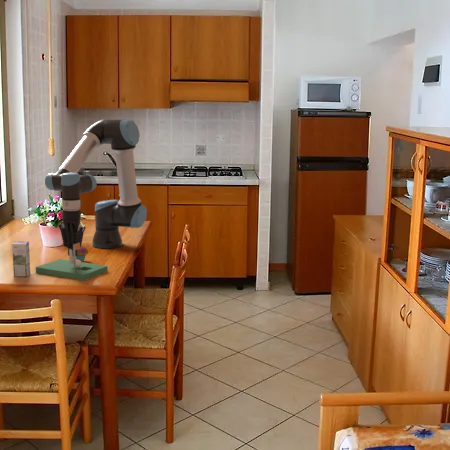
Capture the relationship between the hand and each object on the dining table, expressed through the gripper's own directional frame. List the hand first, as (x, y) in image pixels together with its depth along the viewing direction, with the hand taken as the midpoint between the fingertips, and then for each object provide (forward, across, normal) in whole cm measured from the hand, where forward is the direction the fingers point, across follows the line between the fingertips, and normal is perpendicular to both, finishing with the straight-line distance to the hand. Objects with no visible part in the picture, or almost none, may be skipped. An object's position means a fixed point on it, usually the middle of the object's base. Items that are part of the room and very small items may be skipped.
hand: (72, 263), depth 272 cm
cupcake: (+4, -10, +16) cm, 19 cm away
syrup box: (+4, -16, -14) cm, 22 cm away
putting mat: (+4, -1, 0) cm, 4 cm away
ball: (0, +2, 0) cm, 2 cm away
